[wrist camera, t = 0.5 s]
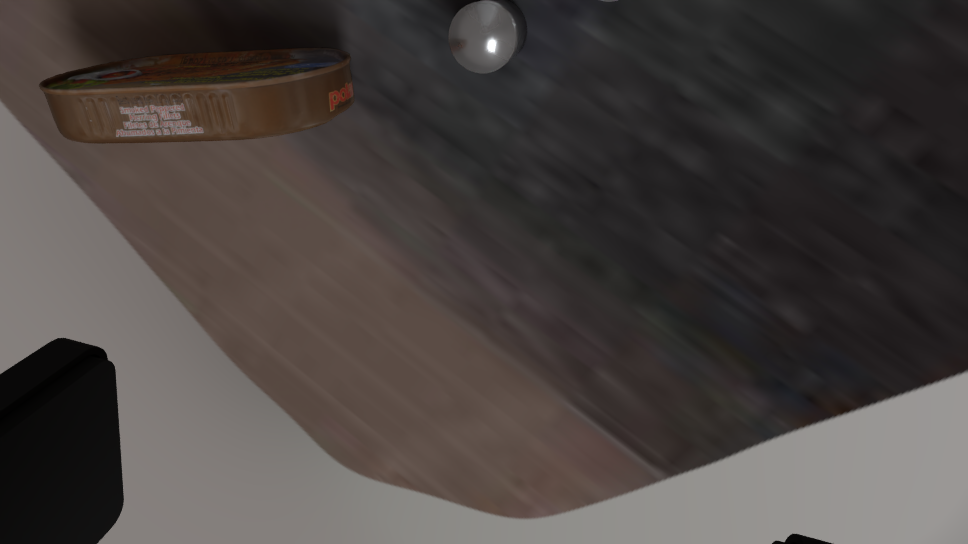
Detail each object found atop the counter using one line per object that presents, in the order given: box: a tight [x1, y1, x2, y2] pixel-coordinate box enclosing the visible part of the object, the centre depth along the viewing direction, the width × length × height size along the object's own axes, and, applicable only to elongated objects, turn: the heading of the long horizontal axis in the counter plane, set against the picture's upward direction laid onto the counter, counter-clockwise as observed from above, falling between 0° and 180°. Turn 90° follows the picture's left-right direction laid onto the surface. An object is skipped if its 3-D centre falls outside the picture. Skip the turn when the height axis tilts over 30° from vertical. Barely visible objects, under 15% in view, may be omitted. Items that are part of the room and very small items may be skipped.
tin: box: [39, 48, 354, 143], centre depth 33 cm, size 15×3×8 cm, turn 93°
